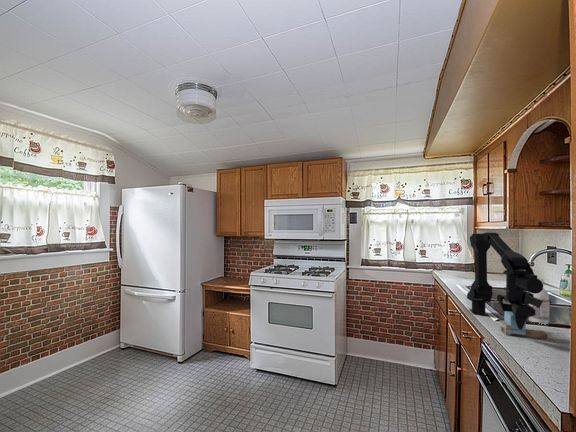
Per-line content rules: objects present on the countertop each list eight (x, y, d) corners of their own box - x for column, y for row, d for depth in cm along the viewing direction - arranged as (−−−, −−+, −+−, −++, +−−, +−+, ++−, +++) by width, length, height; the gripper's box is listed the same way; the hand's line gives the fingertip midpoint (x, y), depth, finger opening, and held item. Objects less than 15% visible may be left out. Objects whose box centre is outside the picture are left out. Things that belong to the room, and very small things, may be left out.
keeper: (510, 333, 110) (510, 315, 110) (504, 327, 116) (504, 311, 116) (525, 334, 109) (525, 317, 109) (518, 329, 114) (518, 312, 114)
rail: (505, 335, 111) (506, 325, 111) (499, 329, 116) (499, 320, 116) (549, 340, 106) (549, 330, 106) (540, 334, 112) (540, 324, 112)
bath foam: (526, 318, 130) (526, 276, 130) (545, 321, 126) (546, 278, 127) (531, 323, 123) (531, 279, 124) (551, 326, 120) (552, 281, 120)
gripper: (553, 294, 101) (552, 337, 101) (527, 283, 119) (526, 319, 118) (516, 291, 104) (516, 332, 104) (496, 281, 122) (496, 316, 122)
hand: (514, 324), depth 112 cm, fingers open, 9 cm apart
